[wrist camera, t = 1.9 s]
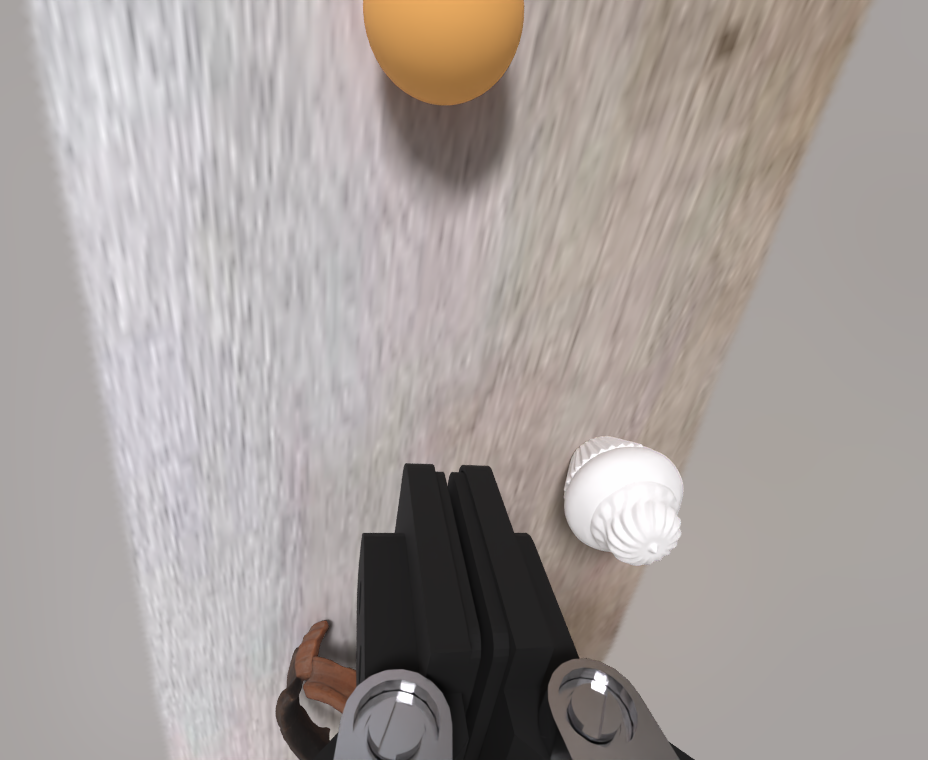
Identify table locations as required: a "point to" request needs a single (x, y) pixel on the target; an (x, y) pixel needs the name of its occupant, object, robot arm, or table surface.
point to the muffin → (624, 499)
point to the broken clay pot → (311, 694)
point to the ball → (444, 44)
